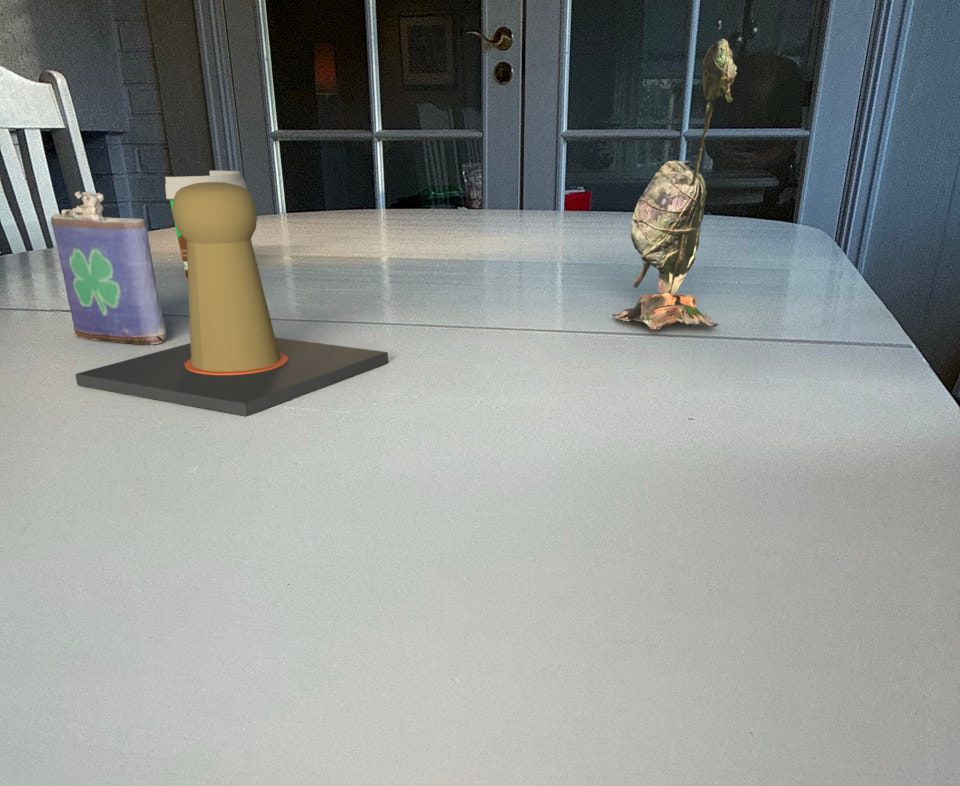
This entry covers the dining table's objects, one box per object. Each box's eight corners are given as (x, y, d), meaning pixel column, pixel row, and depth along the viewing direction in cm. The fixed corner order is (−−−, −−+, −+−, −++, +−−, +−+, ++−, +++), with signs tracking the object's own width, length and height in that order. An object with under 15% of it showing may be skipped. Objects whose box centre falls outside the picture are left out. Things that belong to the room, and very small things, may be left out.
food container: (233, 280, 98) (218, 177, 93) (180, 279, 98) (162, 177, 93) (273, 263, 108) (262, 170, 103) (224, 262, 109) (211, 170, 104)
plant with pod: (693, 309, 81) (722, 45, 71) (725, 336, 71) (763, 34, 61) (604, 311, 81) (620, 46, 71) (624, 338, 71) (645, 35, 61)
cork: (255, 346, 66) (233, 178, 60) (296, 361, 62) (276, 182, 56) (176, 359, 62) (145, 183, 57) (214, 376, 58) (185, 187, 53)
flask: (174, 340, 72) (147, 191, 67) (147, 347, 70) (117, 194, 64) (92, 330, 76) (60, 188, 70) (64, 337, 73) (29, 191, 68)
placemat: (77, 385, 60) (73, 372, 60) (233, 341, 71) (232, 330, 71) (245, 416, 54) (243, 401, 53) (389, 363, 65) (388, 350, 64)
